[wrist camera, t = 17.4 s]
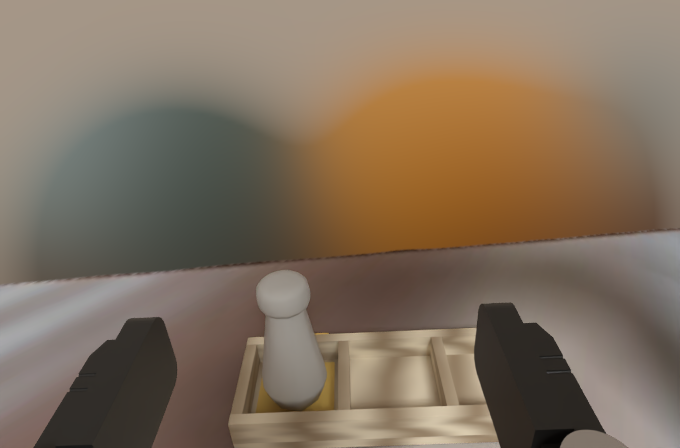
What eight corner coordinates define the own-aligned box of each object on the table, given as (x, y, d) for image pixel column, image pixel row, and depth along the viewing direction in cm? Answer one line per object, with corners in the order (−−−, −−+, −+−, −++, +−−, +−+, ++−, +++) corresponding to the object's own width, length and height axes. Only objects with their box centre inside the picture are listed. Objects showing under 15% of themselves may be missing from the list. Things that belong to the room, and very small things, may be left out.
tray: (524, 348, 49) (530, 322, 47) (567, 439, 40) (575, 411, 38) (253, 359, 49) (248, 334, 48) (235, 451, 40) (227, 424, 39)
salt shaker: (253, 406, 43) (228, 292, 36) (286, 362, 47) (269, 253, 41) (310, 429, 40) (294, 312, 34) (339, 380, 45) (330, 268, 38)
